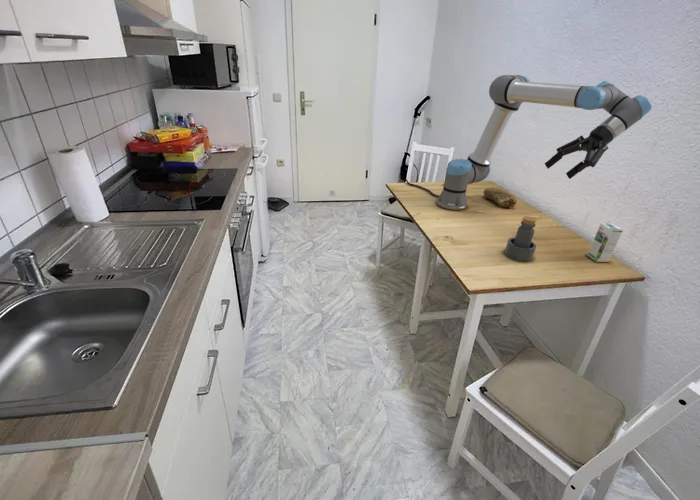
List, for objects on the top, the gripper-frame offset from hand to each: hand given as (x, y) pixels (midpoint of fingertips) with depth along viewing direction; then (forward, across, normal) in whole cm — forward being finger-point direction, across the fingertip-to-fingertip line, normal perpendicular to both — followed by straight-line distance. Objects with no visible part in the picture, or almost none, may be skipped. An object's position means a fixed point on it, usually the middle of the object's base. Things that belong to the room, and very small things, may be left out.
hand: (556, 171), depth 140 cm
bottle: (+31, -10, -13) cm, 35 cm away
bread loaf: (+16, +49, -29) cm, 59 cm away
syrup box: (+8, -14, -36) cm, 40 cm away
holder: (+31, -10, -14) cm, 36 cm away
